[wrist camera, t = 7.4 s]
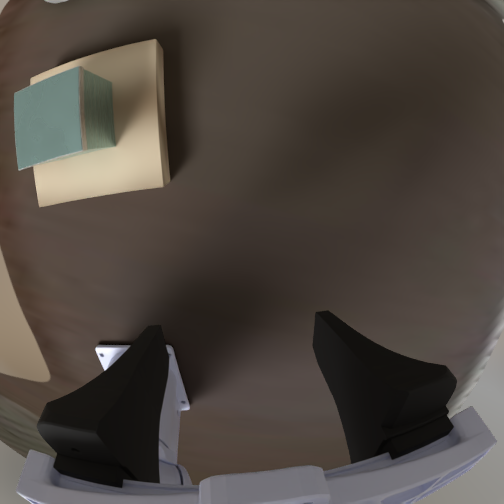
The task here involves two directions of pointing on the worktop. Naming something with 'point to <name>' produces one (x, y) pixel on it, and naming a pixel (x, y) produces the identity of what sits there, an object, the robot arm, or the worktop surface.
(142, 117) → the beige square slab
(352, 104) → the worktop surface
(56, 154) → the tin
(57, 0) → the can
